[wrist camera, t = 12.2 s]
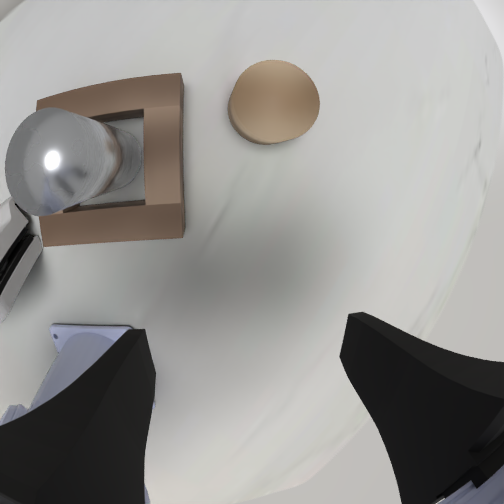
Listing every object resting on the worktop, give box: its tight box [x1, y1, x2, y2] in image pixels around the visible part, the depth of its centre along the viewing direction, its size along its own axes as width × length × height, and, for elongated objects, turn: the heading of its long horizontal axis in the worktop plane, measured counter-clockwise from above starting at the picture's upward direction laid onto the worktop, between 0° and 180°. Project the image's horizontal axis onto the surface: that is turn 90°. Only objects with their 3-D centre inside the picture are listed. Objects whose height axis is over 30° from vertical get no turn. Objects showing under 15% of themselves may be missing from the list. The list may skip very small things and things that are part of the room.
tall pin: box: [5, 108, 141, 216], centre depth 12 cm, size 4×4×9 cm
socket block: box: [36, 73, 185, 247], centre depth 15 cm, size 10×10×3 cm
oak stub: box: [228, 60, 320, 145], centre depth 15 cm, size 5×5×4 cm
